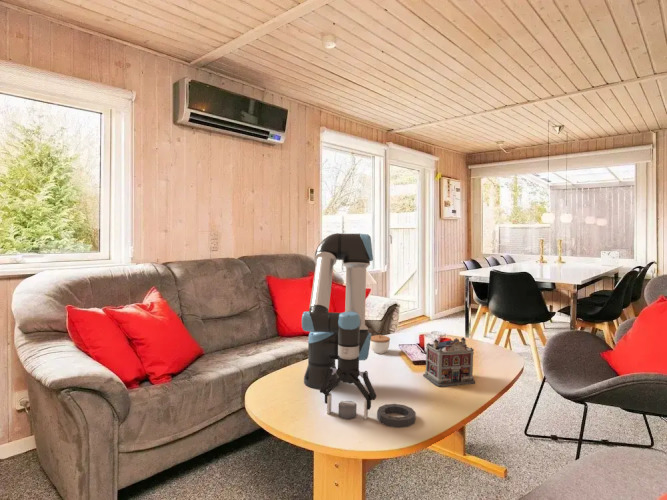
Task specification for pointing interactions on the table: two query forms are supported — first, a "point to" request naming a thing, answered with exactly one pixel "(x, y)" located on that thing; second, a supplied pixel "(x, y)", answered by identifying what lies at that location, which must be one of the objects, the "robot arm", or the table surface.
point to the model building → (449, 363)
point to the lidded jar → (379, 344)
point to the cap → (347, 410)
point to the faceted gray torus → (396, 421)
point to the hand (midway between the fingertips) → (347, 415)
